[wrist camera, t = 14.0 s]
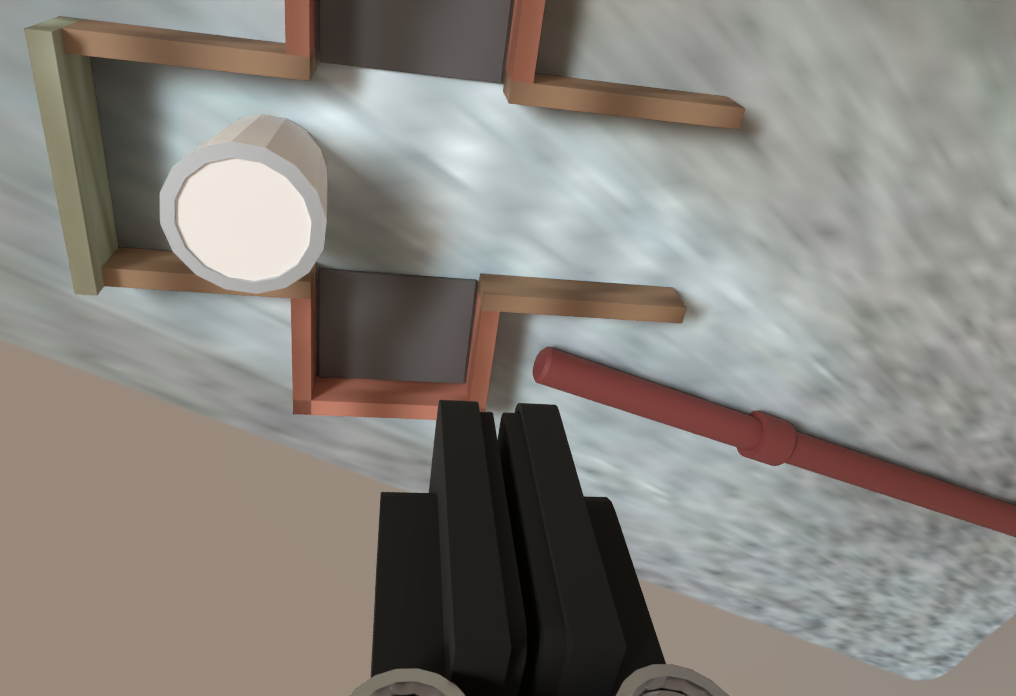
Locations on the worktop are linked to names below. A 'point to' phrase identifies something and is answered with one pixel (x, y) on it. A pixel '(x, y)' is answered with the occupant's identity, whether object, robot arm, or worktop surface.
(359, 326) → the box
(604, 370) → the red collared rod
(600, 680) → the robot arm
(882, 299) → the worktop surface
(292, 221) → the white cylinder
